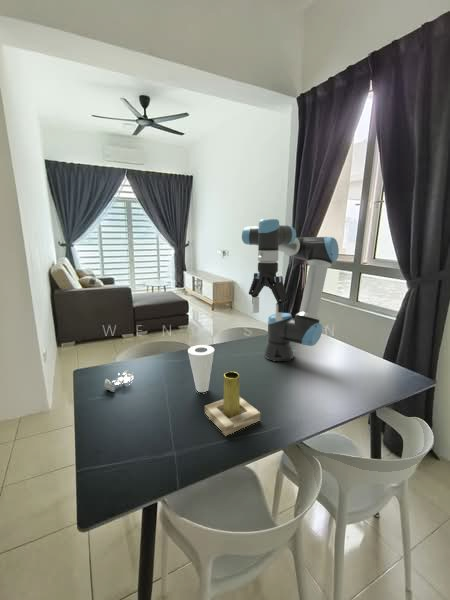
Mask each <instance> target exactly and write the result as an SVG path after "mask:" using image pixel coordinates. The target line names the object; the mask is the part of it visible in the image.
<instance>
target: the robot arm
mask: <svg viewBox="0 0 450 600" xmlns="http://www.w3.org/2000/svg"><path fill="white" fill-rule="evenodd" d="M241 240H242V242H243V244H245V245H249V246H252V245H254V246H258V247H257V248H258V249H257V250H258V252H257V253H258V254H257V261H259V262H258V263H257V272H255V273H253V279H252V283H251V285H250V287H249V291H248V295H250V296H251V298H252V300H251V302H252V303H251V304H252V314H256V313H260V293H261V292H262V290H263V288H264V287H265V288H266V287H267V288H269V289H270V290H271V293H272V294H273V296H274V298H275V300H276V303H275V313H273V314H271V315H269V316H268V318H267V319H268V321H267V343H266V347H265V349H264V352H263V356H264V355H265V356H266V357H267V358H269V359H271V360H275V361H287V362H290V361H292V360H293V359H294V352H293V349H292V348H293V347H292V345H291V343H294V344H298V345H299V344H300V345H303V346H308V347H313V346H315V345H317V343H318V342H319V340H320V339H321V336H322V333H323V325H322V324H321V322H320V321H321V320H320V318H319V316H318V314H319V311H320V310H319V309H320V306H321V299H322V295H323V291H324V286H325V282H326V277H327V273H328V269H329V268H331V267H332V266H333V263H334V262H337V260H338V258H339V255H340V254H339V251H340V250H339V249H340V248H339V244H338V241H337V239H336V238H335V237H332V236H304V237H297V231H296V229H295V228H294V227H292V226H290V225H288V224H287V225H285V224H284V225H280V220H279V219H278V218H263V219H260V220H259V221H258V226H253V225H252V226H246V227H244V228H243V229H242V231H241ZM279 252H281V253H284V254H285V255H287V256H289V257H293V258H295V259H297V260H298V259H299V260H305V261H307V264H308V265H309V268H308V271H307V272H308V273H307V276H306V281H305V285H304V289H303V294H302V299H301V302H300V303H301V304H300V307H299V312H298V313H296V314H294V315H295V316H294V317H293V315H292V314H291V313H289V312H284V307H285V304H286V303H287V304H288V302H289V299H288V295H287V291H286V288H285V285H284V279H283V276H282V275H281V276H279V275H278V276H277V273H278V271H279V263H278V261H279ZM291 359H292V360H291Z"/></svg>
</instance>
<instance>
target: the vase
mask: <svg viewBox="0 0 450 600" xmlns="http://www.w3.org/2000/svg"><path fill="white" fill-rule="evenodd" d="M239 396H240V374H239V373H238V372H236V371H228V372H225V373H224V374H223V399H224V409H223V413H224V415H226V416H228V417H235V416H237V415H239V414H240V412H241V411H240V398H239Z"/></svg>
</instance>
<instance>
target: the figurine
mask: <svg viewBox="0 0 450 600" xmlns="http://www.w3.org/2000/svg"><path fill="white" fill-rule="evenodd" d="M129 371H130V369H126V370H125V371H122V373H121V374H120V372H118V374H117V375H116V379H113V380H112V381H111V380H109V379H107V378H105V381H104V388H105V387H106V388H109V389H111V390H115V387H113V386H116V385H119V384H121V383H122V384H123V383H128V382H130V381H132V380H133V381H134V374H135V373H134V372H133V371H132V372H131V373H128V372H129ZM119 376H120V377H119ZM133 381H132V382H133ZM113 382H114V384H113V385H112V383H113ZM106 388H105V389H106ZM115 391H116V390H115Z"/></svg>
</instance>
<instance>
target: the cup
mask: <svg viewBox="0 0 450 600" xmlns="http://www.w3.org/2000/svg"><path fill="white" fill-rule="evenodd" d="M214 353H215V348H214V347H213V346H211V345H207V344H198V345H194V346H191V347H189V348H188V349H187V354H188V358H189V362H190V367H191V371H192V376H193V381H194V385H195V386H194V387H195V391H196V390H197V391H198V392H206V391H208V392H209V385H210V381H211V374H212V366H213V361H214V355H215V354H214ZM197 391H196V392H197ZM198 392H197V393H198ZM206 393H207V392H206Z"/></svg>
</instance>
